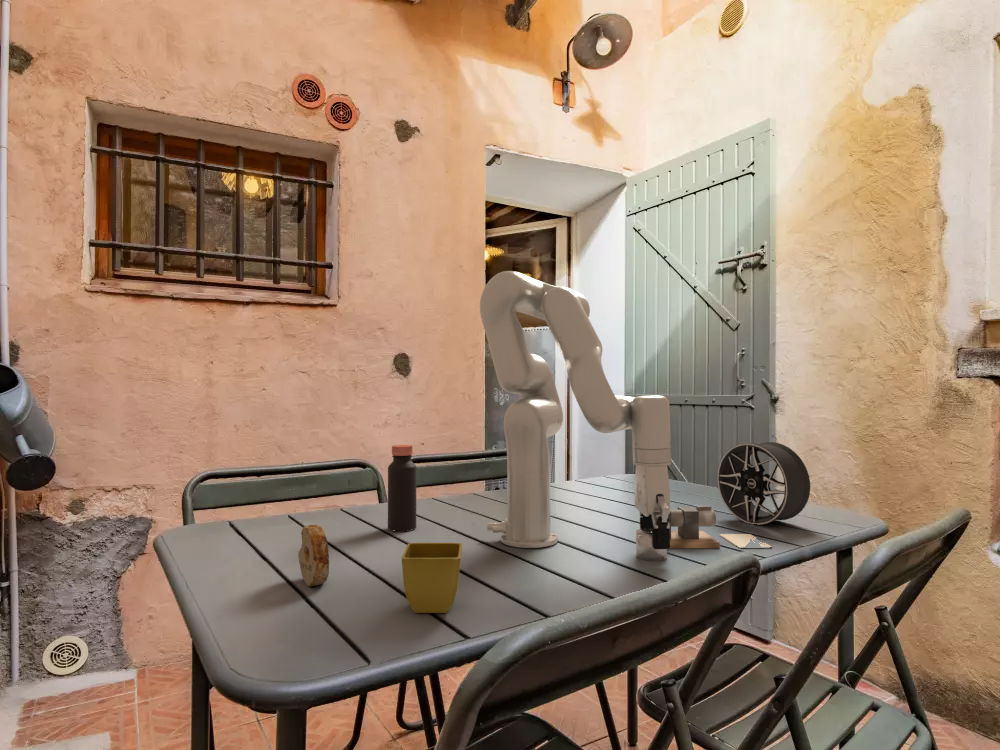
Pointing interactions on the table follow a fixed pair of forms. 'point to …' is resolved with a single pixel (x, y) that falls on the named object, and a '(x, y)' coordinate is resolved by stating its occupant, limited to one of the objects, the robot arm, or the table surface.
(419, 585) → the flower pot
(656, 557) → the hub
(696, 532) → the shaft stand
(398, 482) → the bottle
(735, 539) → the mat
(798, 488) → the wheel rim
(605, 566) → the table surface
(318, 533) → the stone disc
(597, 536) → the table surface
